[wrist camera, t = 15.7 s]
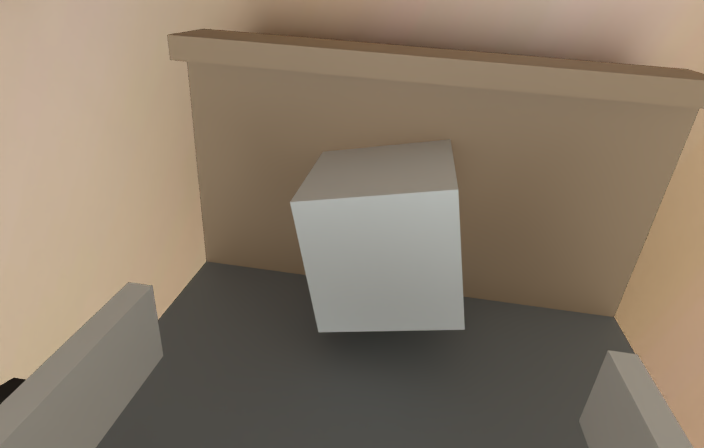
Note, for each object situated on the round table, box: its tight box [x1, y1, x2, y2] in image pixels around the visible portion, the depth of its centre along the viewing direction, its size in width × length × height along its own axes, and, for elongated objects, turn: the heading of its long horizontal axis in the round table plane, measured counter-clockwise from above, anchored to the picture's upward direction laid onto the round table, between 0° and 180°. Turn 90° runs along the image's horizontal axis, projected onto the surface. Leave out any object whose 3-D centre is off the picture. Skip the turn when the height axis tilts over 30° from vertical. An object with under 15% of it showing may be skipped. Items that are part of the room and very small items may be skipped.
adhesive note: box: [290, 139, 465, 332], centre depth 20 cm, size 6×6×6 cm
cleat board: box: [96, 29, 704, 448], centre depth 20 cm, size 14×22×22 cm, turn 86°
